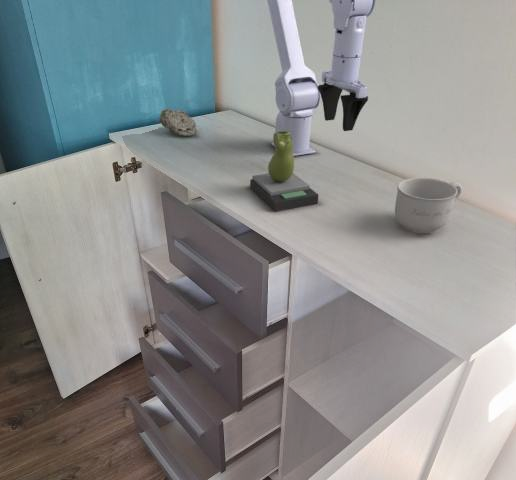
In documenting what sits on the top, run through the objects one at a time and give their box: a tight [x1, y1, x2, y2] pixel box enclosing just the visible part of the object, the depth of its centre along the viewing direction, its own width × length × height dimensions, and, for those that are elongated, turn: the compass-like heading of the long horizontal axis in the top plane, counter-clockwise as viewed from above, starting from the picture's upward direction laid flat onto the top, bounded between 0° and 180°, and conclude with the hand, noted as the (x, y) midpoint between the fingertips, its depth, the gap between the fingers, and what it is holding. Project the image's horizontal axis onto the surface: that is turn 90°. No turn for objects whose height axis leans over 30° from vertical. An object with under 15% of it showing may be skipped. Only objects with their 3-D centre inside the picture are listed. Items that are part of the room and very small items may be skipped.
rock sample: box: [157, 107, 199, 137], centre depth 134 cm, size 10×8×9 cm
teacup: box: [394, 177, 462, 234], centre depth 96 cm, size 14×11×8 cm
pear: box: [267, 130, 295, 182], centre depth 103 cm, size 6×5×10 cm
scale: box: [249, 172, 319, 212], centre depth 106 cm, size 12×10×3 cm
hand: (338, 124), depth 111 cm, fingers open, 7 cm apart
